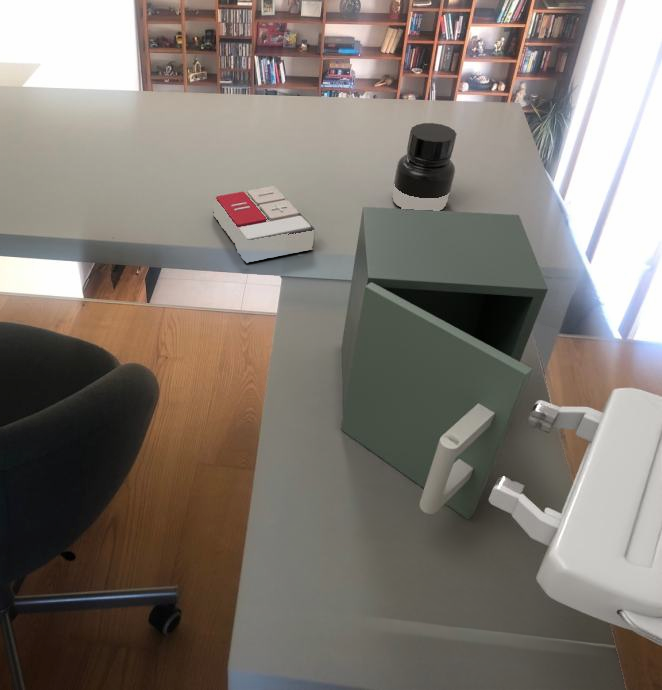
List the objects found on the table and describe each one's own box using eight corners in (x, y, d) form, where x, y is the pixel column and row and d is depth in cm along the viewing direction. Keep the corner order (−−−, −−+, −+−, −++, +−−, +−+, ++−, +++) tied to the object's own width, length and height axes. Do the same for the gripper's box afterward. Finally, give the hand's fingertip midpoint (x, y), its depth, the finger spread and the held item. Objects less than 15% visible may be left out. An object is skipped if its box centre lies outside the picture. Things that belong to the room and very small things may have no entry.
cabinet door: (430, 559, 64) (483, 414, 51) (301, 459, 73) (319, 315, 60) (473, 514, 68) (533, 368, 55) (346, 424, 77) (371, 281, 64)
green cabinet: (491, 436, 76) (548, 289, 62) (343, 423, 77) (367, 277, 64) (472, 356, 85) (519, 214, 72) (341, 346, 87) (362, 206, 74)
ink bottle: (445, 189, 116) (461, 120, 108) (453, 217, 110) (471, 146, 102) (386, 187, 117) (397, 119, 109) (391, 214, 111) (404, 144, 103)
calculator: (275, 182, 112) (316, 224, 100) (275, 206, 114) (314, 250, 103) (211, 194, 109) (245, 238, 98) (212, 218, 112) (245, 264, 101)
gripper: (675, 686, 42) (455, 569, 49) (718, 470, 55) (539, 400, 61) (723, 635, 38) (476, 515, 45) (758, 415, 51) (561, 346, 57)
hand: (513, 447), depth 53 cm, fingers open, 8 cm apart
